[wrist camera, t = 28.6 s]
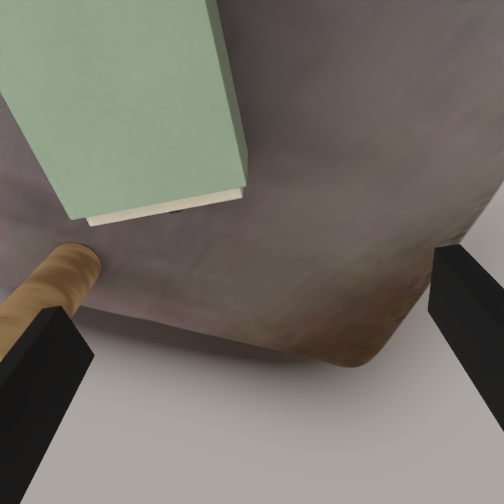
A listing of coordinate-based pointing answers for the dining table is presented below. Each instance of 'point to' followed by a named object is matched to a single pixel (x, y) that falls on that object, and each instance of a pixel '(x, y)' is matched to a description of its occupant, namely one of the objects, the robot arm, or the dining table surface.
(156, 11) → the cabinet
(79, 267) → the pepper mill
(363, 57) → the dining table surface
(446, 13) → the dining table surface
